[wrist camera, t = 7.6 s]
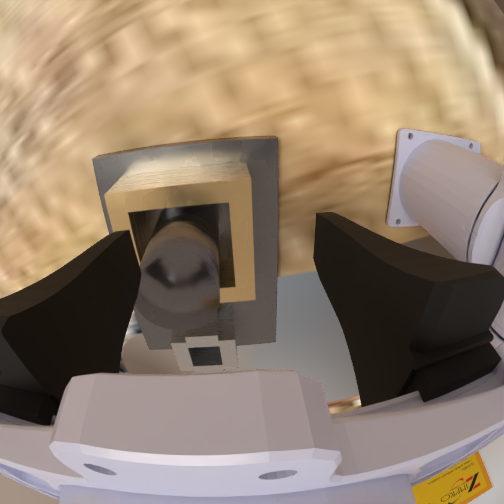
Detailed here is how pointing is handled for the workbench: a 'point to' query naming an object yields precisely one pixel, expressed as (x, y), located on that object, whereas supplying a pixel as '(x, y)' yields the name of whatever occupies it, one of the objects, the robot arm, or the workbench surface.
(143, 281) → the dark grey cylinder
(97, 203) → the workbench surface
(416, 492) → the packaging box
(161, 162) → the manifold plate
